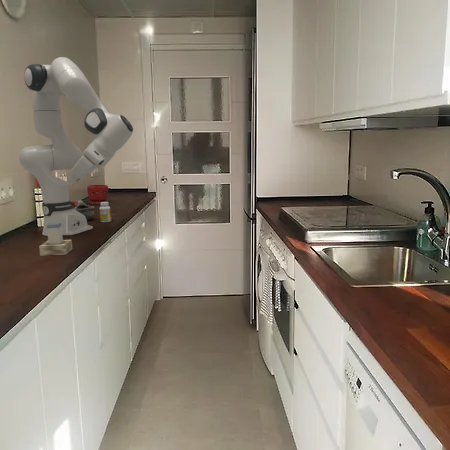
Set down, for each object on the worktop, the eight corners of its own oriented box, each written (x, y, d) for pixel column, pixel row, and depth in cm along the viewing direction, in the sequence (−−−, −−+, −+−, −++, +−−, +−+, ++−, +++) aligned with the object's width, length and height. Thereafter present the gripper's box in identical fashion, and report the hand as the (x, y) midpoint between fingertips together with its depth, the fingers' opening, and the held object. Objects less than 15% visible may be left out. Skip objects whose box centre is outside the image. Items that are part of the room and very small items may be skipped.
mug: (81, 222, 226) (79, 203, 224) (69, 220, 234) (67, 201, 232) (98, 220, 233) (97, 200, 231) (85, 217, 241) (84, 199, 239)
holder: (72, 248, 172) (71, 239, 171) (65, 254, 163) (64, 245, 162) (48, 249, 171) (47, 240, 171) (40, 255, 163) (39, 246, 162)
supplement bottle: (107, 220, 232) (105, 201, 230) (113, 221, 228) (112, 202, 227) (98, 221, 228) (96, 202, 226) (104, 222, 224) (103, 203, 222)
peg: (63, 248, 169) (61, 222, 167) (60, 251, 165) (57, 224, 163) (52, 249, 169) (50, 223, 167) (49, 251, 165) (46, 225, 163)
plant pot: (98, 205, 285) (96, 186, 283) (84, 204, 293) (82, 186, 290) (113, 202, 296) (112, 184, 294) (99, 201, 303) (98, 184, 301)
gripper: (97, 147, 172) (73, 173, 173) (84, 149, 152) (57, 179, 153) (110, 158, 173) (86, 184, 175) (98, 162, 153) (72, 191, 155)
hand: (72, 182), depth 164 cm, fingers open, 8 cm apart
